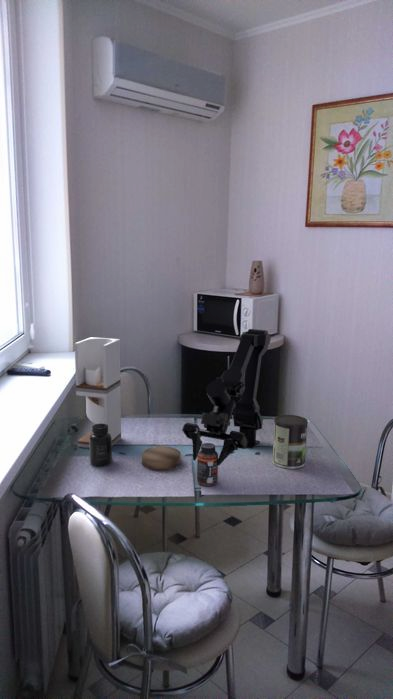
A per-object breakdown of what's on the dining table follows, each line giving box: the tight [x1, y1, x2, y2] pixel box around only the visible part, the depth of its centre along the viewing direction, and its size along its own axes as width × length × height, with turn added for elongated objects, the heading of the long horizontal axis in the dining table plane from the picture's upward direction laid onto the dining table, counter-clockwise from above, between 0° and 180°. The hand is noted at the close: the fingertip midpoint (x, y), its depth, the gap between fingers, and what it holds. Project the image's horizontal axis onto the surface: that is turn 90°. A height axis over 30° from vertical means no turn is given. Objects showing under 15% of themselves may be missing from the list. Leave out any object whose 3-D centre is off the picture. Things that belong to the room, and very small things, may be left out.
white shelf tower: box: [74, 336, 122, 449], centre depth 182 cm, size 11×11×35 cm
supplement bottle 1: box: [89, 424, 113, 468], centre depth 168 cm, size 7×7×12 cm
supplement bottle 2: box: [196, 442, 219, 487], centre depth 156 cm, size 6×6×11 cm
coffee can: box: [271, 414, 309, 470], centre depth 171 cm, size 10×10×14 cm
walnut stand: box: [141, 445, 182, 472], centre depth 170 cm, size 12×12×3 cm
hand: (205, 462), depth 155 cm, fingers open, 7 cm apart
